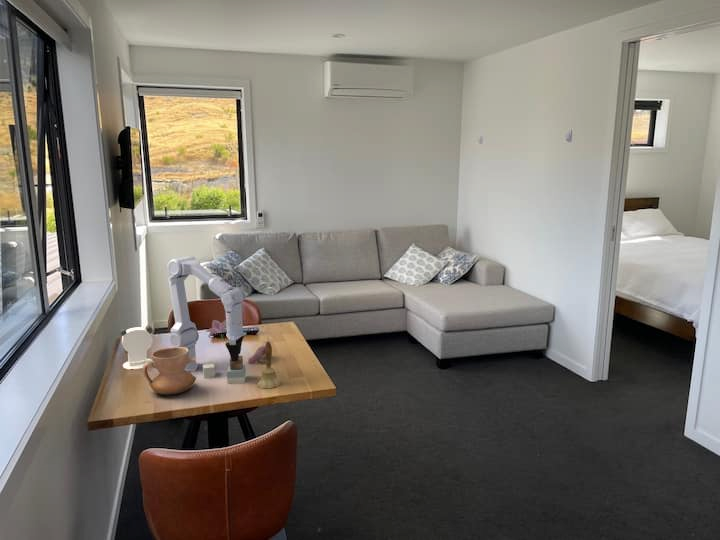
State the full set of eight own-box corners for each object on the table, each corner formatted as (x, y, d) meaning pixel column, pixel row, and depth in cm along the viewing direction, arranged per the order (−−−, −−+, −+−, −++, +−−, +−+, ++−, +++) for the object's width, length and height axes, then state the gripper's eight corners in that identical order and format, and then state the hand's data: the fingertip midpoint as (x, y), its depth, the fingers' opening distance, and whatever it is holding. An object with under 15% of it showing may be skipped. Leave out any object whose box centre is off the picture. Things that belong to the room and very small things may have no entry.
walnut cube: (230, 370, 196) (229, 359, 195) (232, 366, 200) (231, 355, 199) (241, 369, 196) (240, 359, 196) (243, 365, 200) (242, 355, 200)
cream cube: (204, 378, 201) (203, 368, 200) (203, 374, 204) (202, 364, 203) (215, 377, 202) (214, 366, 201) (214, 373, 206) (213, 363, 205)
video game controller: (256, 368, 214) (263, 353, 212) (246, 362, 215) (253, 348, 213) (265, 359, 224) (272, 345, 222) (255, 354, 224) (262, 340, 222)
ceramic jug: (200, 380, 199) (197, 343, 196) (196, 395, 185) (192, 356, 182) (149, 385, 196) (145, 347, 193) (141, 401, 182) (136, 361, 179)
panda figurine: (153, 357, 223) (150, 322, 220) (157, 365, 213) (153, 329, 210) (121, 362, 218) (118, 326, 215) (124, 371, 208) (120, 334, 205)
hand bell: (266, 378, 200) (264, 337, 197) (285, 381, 197) (283, 340, 194) (252, 386, 193) (250, 343, 190) (272, 390, 189) (270, 347, 186)
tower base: (227, 384, 196) (227, 377, 195) (229, 378, 202) (229, 371, 201) (244, 383, 196) (243, 377, 196) (246, 377, 202) (245, 371, 202)
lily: (237, 337, 252) (230, 318, 253) (233, 335, 240) (226, 315, 242) (212, 346, 250) (205, 327, 251) (207, 345, 238) (200, 325, 240)
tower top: (226, 378, 195) (226, 371, 195) (229, 371, 201) (228, 365, 201) (243, 377, 196) (243, 370, 195) (245, 371, 202) (245, 364, 201)
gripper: (243, 327, 188) (245, 364, 191) (247, 315, 203) (249, 350, 205) (222, 328, 188) (224, 364, 190) (228, 316, 202) (230, 351, 204)
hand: (236, 357), depth 198 cm, fingers open, 7 cm apart
